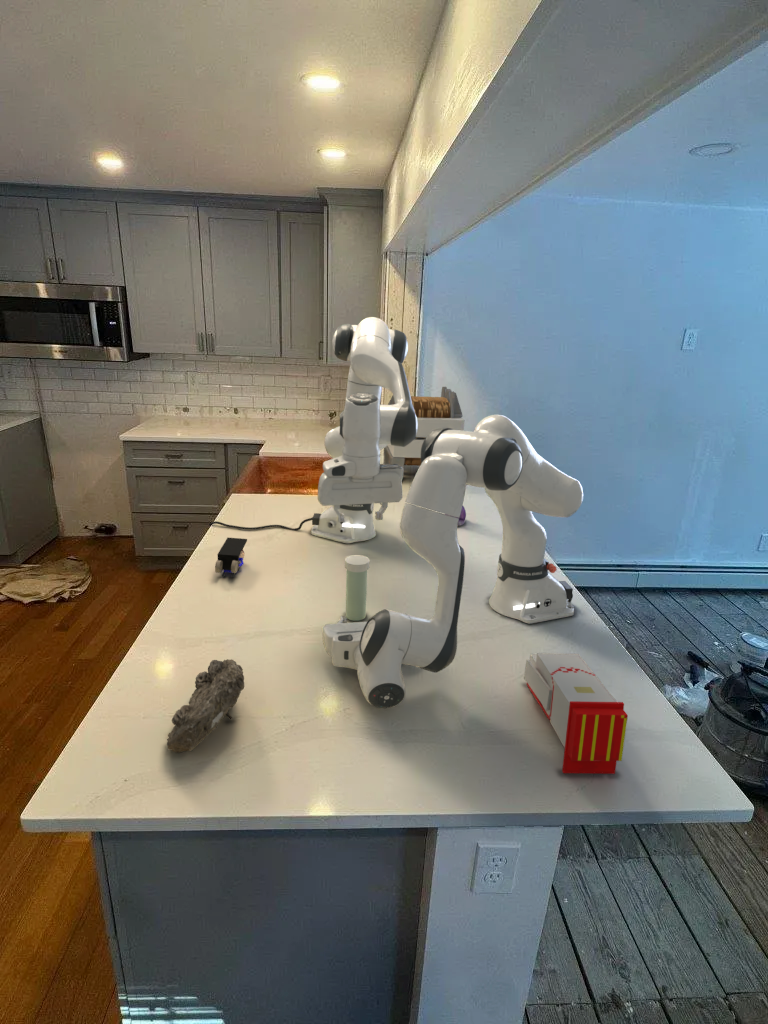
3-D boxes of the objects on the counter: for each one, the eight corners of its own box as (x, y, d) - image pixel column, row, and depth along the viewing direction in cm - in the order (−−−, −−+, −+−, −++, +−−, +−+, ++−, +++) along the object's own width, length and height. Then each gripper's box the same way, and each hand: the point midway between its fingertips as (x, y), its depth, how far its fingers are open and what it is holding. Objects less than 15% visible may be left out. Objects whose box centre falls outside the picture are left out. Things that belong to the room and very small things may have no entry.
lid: (356, 559, 145) (356, 552, 144) (374, 567, 142) (374, 559, 141) (339, 567, 141) (340, 559, 140) (357, 574, 137) (357, 567, 136)
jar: (355, 608, 149) (356, 555, 144) (369, 615, 146) (371, 561, 141) (341, 615, 145) (342, 561, 140) (356, 623, 142) (357, 567, 137)
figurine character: (238, 584, 162) (249, 557, 175) (236, 562, 158) (247, 536, 172) (215, 584, 161) (227, 556, 175) (212, 561, 158) (225, 535, 171)
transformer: (382, 463, 289) (386, 382, 275) (445, 464, 293) (451, 384, 279) (390, 482, 257) (394, 392, 243) (460, 483, 261) (468, 394, 247)
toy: (573, 635, 123) (638, 710, 94) (567, 691, 126) (628, 782, 97) (518, 633, 123) (565, 709, 93) (513, 690, 125) (557, 781, 96)
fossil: (192, 660, 117) (244, 628, 112) (224, 691, 120) (276, 661, 115) (142, 746, 98) (202, 712, 93) (182, 779, 101) (242, 748, 96)
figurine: (451, 529, 206) (455, 489, 201) (436, 519, 214) (439, 481, 209) (472, 525, 210) (476, 487, 205) (457, 516, 219) (460, 479, 214)
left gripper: (400, 460, 138) (397, 513, 142) (316, 462, 133) (316, 518, 137) (407, 467, 132) (404, 522, 137) (320, 469, 127) (320, 527, 132)
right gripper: (420, 634, 123) (405, 602, 135) (325, 640, 119) (320, 608, 132) (418, 658, 125) (404, 625, 138) (325, 666, 121) (320, 631, 134)
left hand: (359, 520), depth 137 cm, fingers open, 8 cm apart
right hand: (362, 617), depth 135 cm, fingers open, 8 cm apart
